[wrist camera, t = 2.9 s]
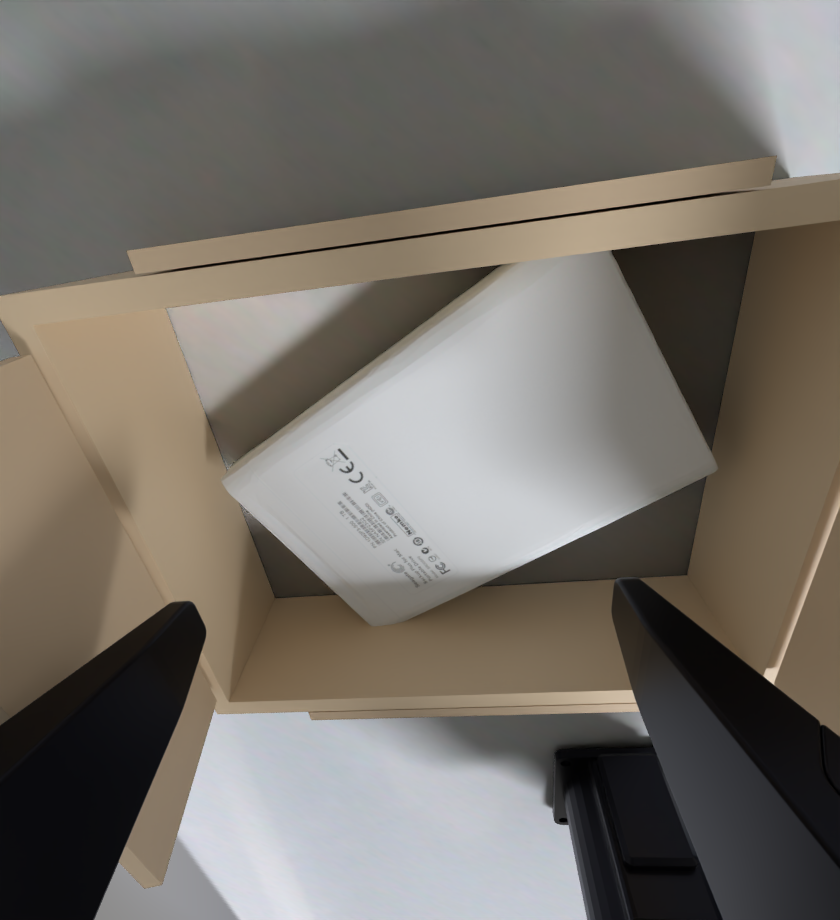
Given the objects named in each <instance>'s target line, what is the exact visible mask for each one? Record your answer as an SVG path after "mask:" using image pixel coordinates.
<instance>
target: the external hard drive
mask: <svg viewBox="0 0 840 920" xmlns="http://www.w3.org/2000/svg"><path fill="white" fill-rule="evenodd" d="M717 470H718V466H717V463H716V461H715V459H714V457H713V454H712V452H711V451H710V449H709V447H708V445H707V443H706V441H705V439H704V436H703V434H702V433H701V431H700V429H699V427H698V425H697V423H696V421H695V419H694V416H693V414H692V412H691V410H690V408H689V407H688V405H687V403H686V401H685V399H684V397H683V395H682V393H681V391H680V389H679V387H678V385H677V383H676V380H675V378H674V376H673V375H672V373H671V371H670V368H669V366H668V365H667V362H666V360H665V358H664V357H663V355H662V353H661V351H660V349H659V347H658V345H657V343H656V341H655V338H654V336H653V334H652V332H651V330H650V328H649V326H648V324H647V322H646V320H645V318H644V316H643V314H642V312H641V310H640V308H639V307H638V304H637V302H636V300H635V297H634V295H633V294H632V292H631V290H630V288H629V287H628V285H627V282H626V280H625V278H624V276H623V274H622V272H621V270H620V268H619V266H618V263H617V261H616V260H615V258H614V256H613V254H612V252H611V250H608V251H600V252H593V253H585V254H577V255H570V256H562V257H554V258H547V259H539V260H531V261H524V262H516V263H508V264H502V265H500V266H499V267H498V268H496V269H495V270H494V271H492V272H491V273H490V274H488V275H487V276H486V277H484V278H483V279H482V280H480V281H479V282H478V283H477V284H475V285H474V286H472V287H471V288H470V289H468V290H467V291H465V292H464V293H463V294H461V295H460V296H459V297H457V298H456V299H454V300H453V301H452V302H450V303H449V304H448V305H446V306H445V307H444V308H442V309H441V310H440V311H438V312H437V313H436V314H434V315H433V316H432V317H431V318H429V319H428V320H426V321H425V322H424V323H422V324H421V325H420V326H418V327H417V328H416V329H414V330H413V331H412V332H410V333H409V334H408V335H406V336H405V337H404V338H402V339H401V340H400V341H398V342H397V343H396V344H394V345H393V346H392V347H390V348H389V349H388V350H386V351H385V352H384V353H382V354H381V355H379V356H378V357H377V358H375V359H374V360H373V361H371V362H370V363H369V364H367V365H366V366H364V367H363V368H362V369H360V370H359V371H358V372H356V373H355V374H354V375H352V376H351V377H350V378H348V379H347V380H346V381H344V382H343V383H341V384H340V385H339V386H338V387H336V388H335V389H334V390H332V391H331V392H330V393H328V394H327V395H326V396H324V397H323V398H322V399H320V400H319V401H318V402H316V403H315V404H313V405H312V406H311V407H310V408H308V409H307V410H306V411H304V412H303V413H302V414H300V415H299V416H297V417H296V418H295V419H293V420H292V421H291V422H290V423H288V424H287V425H286V426H284V427H283V428H281V429H280V430H279V431H277V432H276V433H275V434H273V435H272V436H271V437H269V438H268V439H267V440H265V441H264V442H262V443H261V444H260V445H258V446H257V447H255V448H253V449H252V450H251V451H249V452H248V453H246V454H245V455H244V456H242V457H241V458H240V459H238V460H237V461H235V462H234V463H233V465H232V466H231V467H230V469H229V470H228V471H227V472H226V474H225V475H224V476H223V477H222V478H221V482H222V484H223V486H224V487H225V489H226V490H227V491H228V493H229V494H230V495H231V496H232V497H233V498H234V499H235V500H237V501H238V502H239V503H240V504H241V505H242V506H243V507H244V508H245V509H246V510H247V511H248V512H249V513H250V514H251V515H253V516H254V517H255V518H256V519H257V520H258V521H259V522H260V523H261V524H262V525H264V526H265V527H266V528H267V529H268V530H269V531H270V532H271V533H272V534H273V535H274V536H275V537H277V538H278V539H279V540H280V541H281V542H282V543H283V544H284V545H285V546H286V547H287V548H288V549H289V550H291V551H292V552H293V553H294V554H295V555H296V556H297V557H298V558H299V559H300V560H301V561H302V562H303V563H305V564H306V565H307V566H308V567H309V568H310V569H311V570H312V571H313V572H314V573H315V574H316V575H317V576H318V577H319V578H320V579H321V580H323V581H324V582H325V583H326V584H327V585H328V586H329V587H330V588H331V589H332V590H333V591H334V592H335V593H336V594H337V595H339V596H340V597H341V598H342V599H343V600H344V601H345V602H346V603H347V604H348V605H349V606H350V607H351V608H352V609H353V610H354V611H355V612H357V613H358V614H359V615H360V616H361V617H362V618H363V619H364V620H365V621H366V622H367V623H368V624H369V625H370V626H384V625H391V624H396V623H401V622H405V621H407V620H409V619H411V618H413V617H415V616H417V615H419V614H421V613H424V612H426V611H428V610H430V609H432V608H434V607H436V606H438V605H440V604H442V603H445V602H447V601H449V600H451V599H453V598H455V597H457V596H459V595H462V594H464V593H466V592H468V591H470V590H472V589H474V588H476V587H478V586H480V585H482V584H484V583H486V582H489V581H491V580H493V579H495V578H497V577H499V576H501V575H503V574H505V573H507V572H509V571H511V570H513V569H515V568H518V567H520V566H522V565H524V564H526V563H528V562H530V561H532V560H534V559H536V558H538V557H541V556H543V555H545V554H547V553H549V552H551V551H553V550H555V549H557V548H559V547H561V546H563V545H565V544H567V543H570V542H572V541H574V540H576V539H578V538H580V537H582V536H584V535H586V534H589V533H591V532H593V531H595V530H597V529H599V528H601V527H603V526H606V525H608V524H610V523H612V522H614V521H616V520H618V519H620V518H622V517H624V516H626V515H628V514H630V513H632V512H634V511H636V510H638V509H640V508H642V507H644V506H646V505H648V504H650V503H652V502H655V501H657V500H659V499H661V498H663V497H665V496H667V495H669V494H671V493H673V492H675V491H677V490H679V489H681V488H683V487H685V486H687V485H689V484H691V483H693V482H696V481H698V480H700V479H702V478H704V477H706V476H708V475H710V474H713V473H715V472H716V471H717Z"/></svg>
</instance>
